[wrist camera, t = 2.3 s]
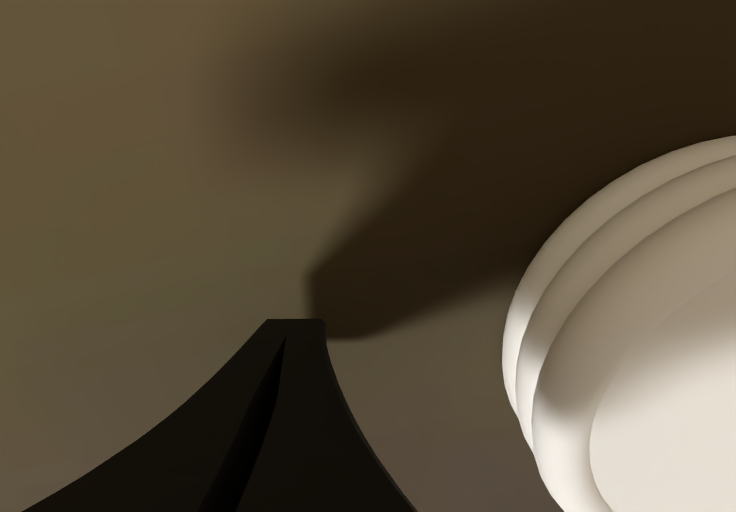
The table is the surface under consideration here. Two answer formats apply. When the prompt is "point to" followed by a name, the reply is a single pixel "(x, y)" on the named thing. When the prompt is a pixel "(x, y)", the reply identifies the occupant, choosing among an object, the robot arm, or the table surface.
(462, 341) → the table surface
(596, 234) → the coaster
